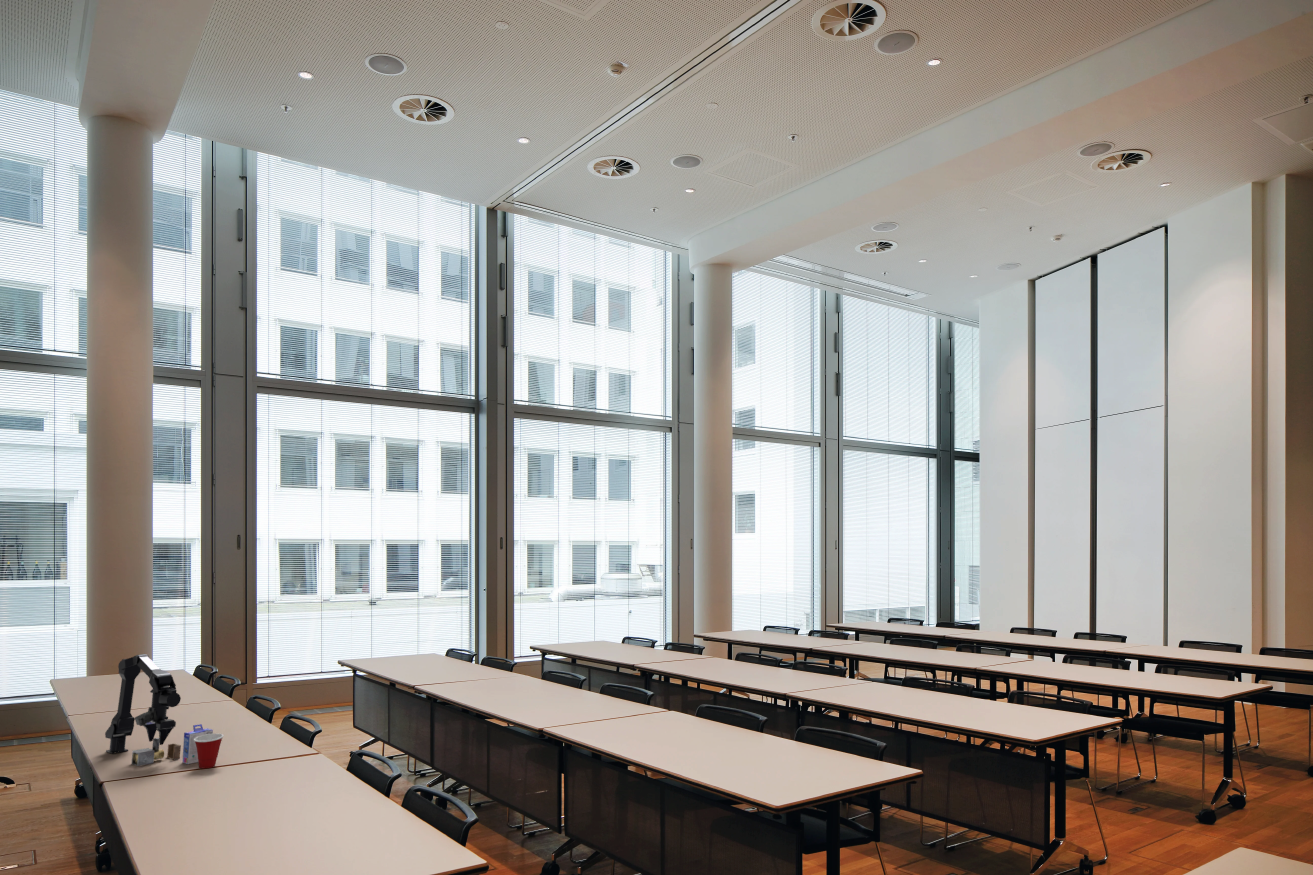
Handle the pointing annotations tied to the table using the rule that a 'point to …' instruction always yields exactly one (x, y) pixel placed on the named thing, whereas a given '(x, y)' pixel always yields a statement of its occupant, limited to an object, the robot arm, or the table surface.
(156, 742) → the gold elongated piece
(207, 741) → the plastic cup
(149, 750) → the grey hammer head
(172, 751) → the socket block
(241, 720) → the table surface
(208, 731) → the ink cartridge box
